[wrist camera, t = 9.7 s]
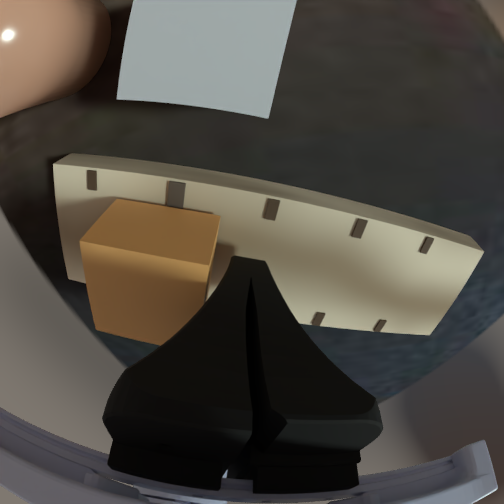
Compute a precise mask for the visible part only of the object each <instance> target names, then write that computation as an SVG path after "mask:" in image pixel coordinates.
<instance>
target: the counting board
mask: <svg viewBox="0 0 504 504" xmlns="http://www.w3.org/2000/svg"><path fill="white" fill-rule="evenodd" d="M53 172H54V186H55V198H56V207H57V216H58V223H59V230H60V237H61V243H62V249H63V255H64V260H65V265H66V270H67V275H68V279H70V280H74V281H78V282H82V283H86V280H85V274H84V269H83V262H82V256H81V249H80V239H81V238H82V237H83V236H84V235H85V234H86V232H87V231H88V230H89V229H90V228H91V227H92V225H93V224H94V223H95V222H96V221H97V220H98V219H99V218H100V216H101V215H102V214H103V213H104V212H105V211H106V210H107V209H108V208H109V207H110V206H111V204H112V203H113V202H114V201H115V200H116V199H123V200H129V201H136V202H142V203H148V204H154V205H160V206H166V207H172V208H178V209H184V210H190V211H196V212H202V213H207V214H213V215H219V216H221V217H220V223H219V229H218V235H217V241H216V247H215V254H214V260H213V266H212V273H211V279H210V286H209V293H208V298H209V297H210V296H211V294H212V293H213V292H214V290H215V289H216V287H217V286H218V284H219V282H220V281H221V279H222V278H223V276H224V274H225V272H226V270H227V268H228V266H229V263H230V260H231V257H232V256H234V255H236V256H241V257H247V258H253V259H258V260H264V261H266V263H267V264H268V267H269V269H270V272H271V274H272V276H273V278H274V280H275V282H276V285H277V287H278V289H279V291H280V292H281V294H282V296H283V298H284V300H285V302H286V303H287V305H288V307H289V308H290V310H291V312H292V313H293V315H294V316H295V318H296V320H297V321H298V322H299V323H301V324H309V325H317V326H326V327H335V328H345V329H355V330H365V331H376V332H389V333H403V334H418V335H430V334H431V332H432V331H433V330H434V329H435V327H436V326H437V324H438V323H439V322H440V320H441V319H442V318H443V316H444V315H445V313H446V312H447V311H448V309H449V308H450V306H451V305H452V303H453V302H454V300H455V299H456V297H457V296H458V294H459V293H460V291H461V290H462V288H463V286H464V285H465V283H466V282H467V280H468V278H469V277H470V275H471V274H472V272H473V270H474V268H475V267H476V265H477V263H478V262H479V260H480V258H481V256H482V255H483V253H484V251H483V250H482V249H481V248H480V247H479V245H478V244H477V243H476V242H475V241H474V240H473V239H472V238H471V237H470V236H468V235H465V234H462V233H459V232H456V231H453V230H450V229H447V228H444V227H441V226H438V225H435V224H432V223H429V222H426V221H422V220H419V219H416V218H413V217H409V216H406V215H403V214H399V213H396V212H392V211H389V210H385V209H382V208H378V207H375V206H371V205H367V204H363V203H360V202H356V201H352V200H348V199H344V198H340V197H336V196H332V195H328V194H324V193H320V192H316V191H311V190H307V189H303V188H298V187H294V186H289V185H285V184H280V183H275V182H270V181H265V180H260V179H255V178H250V177H245V176H240V175H234V174H229V173H223V172H218V171H212V170H206V169H200V168H194V167H187V166H181V165H174V164H167V163H160V162H152V161H145V160H137V159H128V158H119V157H110V156H100V155H89V154H77V153H71V154H69V155H67V156H65V157H64V158H62V159H60V160H59V161H57V162H55V163H54V164H53ZM207 300H208V299H207Z"/></svg>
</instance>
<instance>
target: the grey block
mask: <svg viewBox="0 0 504 504" xmlns="http://www.w3.org/2000/svg"><path fill="white" fill-rule="evenodd" d="M296 1H297V0H134V1H133V5H132V9H131V14H130V18H129V23H128V28H127V33H126V38H125V44H124V49H123V55H122V62H121V69H120V76H119V84H118V92H117V99H119V100H138V101H151V102H163V103H173V104H182V105H190V106H198V107H205V108H212V109H219V110H225V111H231V112H237V113H242V114H248V115H253V116H258V117H263V118H269V113H270V109H271V105H272V100H273V96H274V92H275V88H276V83H277V79H278V75H279V71H280V67H281V62H282V58H283V54H284V50H285V46H286V42H287V37H288V33H289V29H290V25H291V21H292V17H293V13H294V9H295V5H296Z"/></svg>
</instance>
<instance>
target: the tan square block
mask: <svg viewBox="0 0 504 504" xmlns="http://www.w3.org/2000/svg"><path fill="white" fill-rule="evenodd" d="M220 217H221V216H219V215H213V214H207V213H202V212H196V211H190V210H184V209H178V208H172V207H166V206H160V205H154V204H148V203H142V202H136V201H129V200H123V199H116V200H115V201H114V202H113V203H112V204H111V206H110V207H109V208H108V209H107V210H106V211H105V212H104V213H103V214H102V215H101V216H100V218H99V219H98V220H97V221H96V222H95V223H94V224H93V225H92V227H91V228H90V229H89V230H88V231H87V232H86V234H85V235H84V236H83V237H82V238H81V239H80V249H81V256H82V262H83V269H84V274H85V280H86V286H87V291H88V296H89V301H90V305H91V310H92V314H93V319H94V323H95V327H96V330H99V331H103V332H107V333H111V334H114V335H118V336H122V337H126V338H131V339H135V340H139V341H143V342H148V343H152V344H157V345H162V344H164V343H165V342H166V341H167V340H169V339H170V338H171V337H172V336H173V335H175V334H176V333H177V332H178V331H179V330H180V329H181V328H182V327H183V326H184V325H185V324H186V323H187V322H188V321H189V320H190V319H191V318H192V317H193V316H194V315H195V314H196V313H197V312H198V311H199V309H200V308H201V307H202V306H203V305H204V303H205V302H206V301H207V299H208V293H209V286H210V279H211V273H212V266H213V260H214V254H215V247H216V241H217V235H218V229H219V223H220Z"/></svg>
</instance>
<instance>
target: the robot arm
mask: <svg viewBox="0 0 504 504" xmlns="http://www.w3.org/2000/svg"><path fill="white" fill-rule="evenodd" d="M102 419H103V423H104V425H105V426H106V428H107V430H108V432H109V434H110V435H111V437H112V438H113V442H112V446H111V450H110V454H105V453H102V452H99V451H96V450H93V449H90V448H88V447H85V446H82V445H79V444H77V443H74V442H71V441H69V440H66V439H64V438H61V437H59V436H57V435H54V434H52V433H50V432H47V431H45V430H43V429H41V428H39V427H37V426H35V425H32V424H30V423H28V422H26V421H24V420H22V419H20V418H19V417H17V416H15V415H13V414H11V413H9V412H7V411H6V410H4V409H2V408H0V485H1V486H2V487H4V488H5V489H7V490H8V491H10V492H11V493H13V494H15V495H16V496H18V497H19V498H21V499H23V500H24V501H26V502H28V503H30V504H227V501H231V502H249V503H298V502H314V501H326V500H335V499H342V500H337V501H332V502H329V503H328V504H472V503H474V502H476V501H478V500H480V499H482V498H483V497H485V496H487V495H489V494H490V493H492V492H493V491H495V490H497V488H498V486H497V482H496V478H495V474H494V470H493V466H492V463H491V459H490V456H489V452H488V449H487V446H486V443H485V441H484V440H481V441H478V442H475V443H473V444H470V445H467V446H465V447H463V448H462V449H460V450H458V451H456V452H455V453H453V454H452V455H451V456H448V457H445V458H442V459H439V460H435V461H431V462H428V463H423V464H420V465H415V466H411V467H407V468H402V469H397V470H393V471H387V472H381V473H375V474H369V475H362V476H358V471H357V463H359V462H360V461H361V457H360V450H361V449H363V448H364V447H365V446H367V445H368V444H369V443H371V442H372V441H374V440H375V439H376V438H377V437H378V436H379V435H380V434H381V432H382V430H383V425H382V420H381V415H380V410H379V407H378V404H377V401H376V398H375V397H374V396H372V395H371V394H370V393H368V392H367V391H366V390H364V389H363V388H362V387H360V386H359V385H358V384H356V383H355V382H354V381H352V380H351V379H350V378H349V377H348V376H347V375H345V374H344V373H343V372H342V371H341V370H340V369H339V368H338V367H337V366H335V365H334V364H333V363H332V362H331V361H330V360H329V359H328V358H327V356H326V355H325V354H324V353H323V352H322V351H321V350H320V349H319V348H318V347H317V346H316V345H315V343H314V342H313V341H312V340H311V339H310V337H309V336H308V335H307V334H306V332H305V331H304V330H303V328H302V327H301V325H300V324H299V322H298V321H297V320H296V318H295V316H294V315H293V313H292V312H291V310H290V308H289V307H288V305H287V303H286V302H285V300H284V298H283V296H282V294H281V292H280V291H279V289H278V287H277V285H276V282H275V280H274V278H273V276H272V274H271V272H270V269H269V267H268V264H267V263H266V261H264V260H258V259H253V258H247V257H241V256H236V255H234V256H232V257H231V260H230V263H229V266H228V268H227V270H226V272H225V274H224V276H223V278H222V279H221V281H220V282H219V284H218V286H217V287H216V289H215V290H214V292H213V293H212V294H211V296H210V297H209V298H208V300H207V301H206V302H205V303H204V305H203V306H202V307H201V308H200V309H199V311H198V312H197V313H196V314H195V315H194V316H193V317H192V318H191V319H190V320H189V321H188V322H187V323H186V324H185V325H184V326H183V327H182V328H181V329H180V330H179V331H178V332H177V333H176V334H175V335H173V336H172V337H171V338H170V339H169V340H167V341H166V342H165V343H164V344H162V345H161V346H160V347H158V348H157V349H156V350H155V351H153V352H152V353H150V354H149V355H148V356H146V357H144V358H143V359H141V360H140V361H138V362H137V363H135V364H133V365H132V366H130V367H129V368H127V369H126V370H125V371H124V372H123V373H122V375H121V376H120V378H119V379H118V381H117V383H116V384H115V386H114V388H113V390H112V392H111V394H110V396H109V398H108V401H107V404H106V407H105V411H104V414H103V417H102ZM106 477H107V478H106ZM109 478H110V479H109ZM111 479H113V480H111ZM114 480H117V481H120V482H123V483H127V484H131V485H133V487H131V486H128V485H125V484H122V483H119V482H117V481H114ZM343 498H347V499H343Z"/></svg>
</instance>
